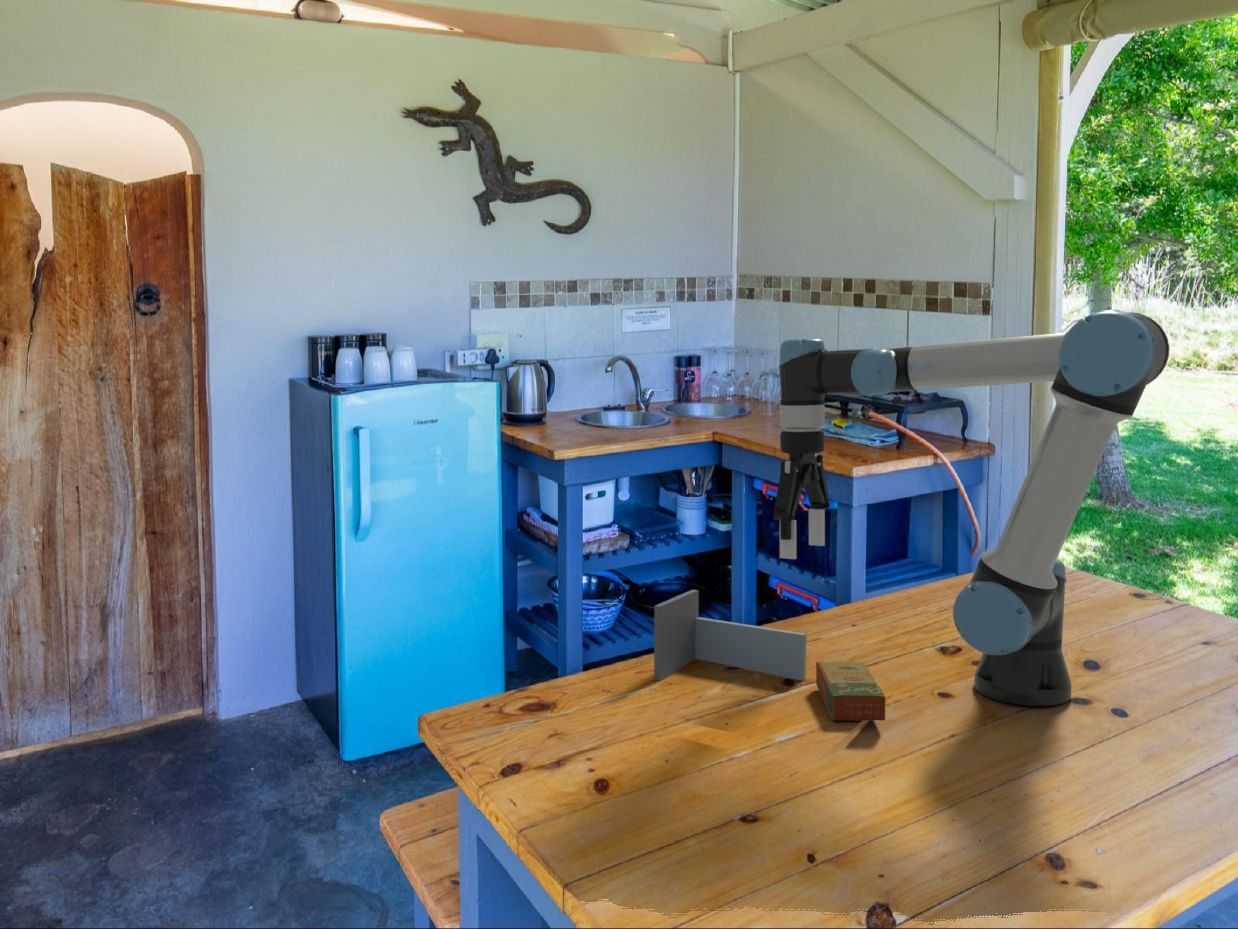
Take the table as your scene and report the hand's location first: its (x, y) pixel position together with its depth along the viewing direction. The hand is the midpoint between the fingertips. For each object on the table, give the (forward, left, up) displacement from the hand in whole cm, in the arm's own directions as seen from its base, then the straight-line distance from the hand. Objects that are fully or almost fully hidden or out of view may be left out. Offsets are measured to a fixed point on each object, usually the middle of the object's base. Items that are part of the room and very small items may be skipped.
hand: (802, 551), depth 183 cm
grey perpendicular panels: (+9, +9, -22) cm, 25 cm away
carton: (-10, +7, -24) cm, 26 cm away
